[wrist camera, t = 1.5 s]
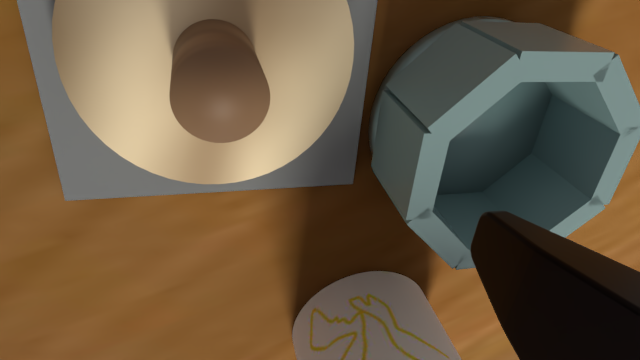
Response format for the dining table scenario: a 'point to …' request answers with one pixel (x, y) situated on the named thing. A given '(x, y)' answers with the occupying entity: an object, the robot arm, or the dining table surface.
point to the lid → (205, 80)
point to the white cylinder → (371, 322)
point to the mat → (132, 181)
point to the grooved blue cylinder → (501, 130)
